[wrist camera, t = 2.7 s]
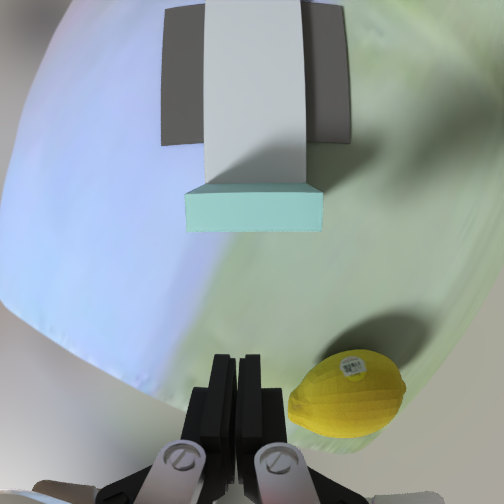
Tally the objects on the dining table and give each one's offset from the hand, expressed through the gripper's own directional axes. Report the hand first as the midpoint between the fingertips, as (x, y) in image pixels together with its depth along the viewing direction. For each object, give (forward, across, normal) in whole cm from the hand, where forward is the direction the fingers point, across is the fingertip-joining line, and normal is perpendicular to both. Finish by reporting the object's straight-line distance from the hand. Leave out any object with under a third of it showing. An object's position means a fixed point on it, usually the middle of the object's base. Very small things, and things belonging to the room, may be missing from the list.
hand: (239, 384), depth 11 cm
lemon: (+14, -9, +10) cm, 20 cm away
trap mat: (+14, -1, -16) cm, 21 cm away
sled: (+13, -1, -16) cm, 21 cm away
